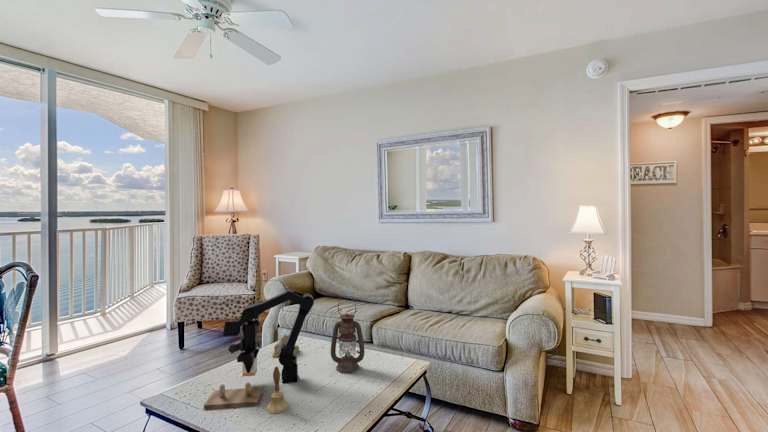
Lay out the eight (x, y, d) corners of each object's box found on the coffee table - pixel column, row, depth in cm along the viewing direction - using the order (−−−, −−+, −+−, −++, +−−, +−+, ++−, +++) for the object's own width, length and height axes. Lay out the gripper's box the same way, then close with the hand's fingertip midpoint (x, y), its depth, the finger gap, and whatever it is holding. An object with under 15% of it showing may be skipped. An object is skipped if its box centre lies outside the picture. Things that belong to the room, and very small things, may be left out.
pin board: (263, 390, 156) (263, 375, 156) (257, 405, 144) (257, 389, 144) (214, 393, 154) (214, 378, 154) (203, 409, 142) (203, 392, 142)
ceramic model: (283, 360, 189) (282, 340, 189) (267, 356, 194) (267, 337, 194) (302, 351, 201) (302, 333, 201) (287, 347, 206) (287, 329, 206)
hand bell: (282, 414, 138) (281, 372, 137) (261, 412, 139) (261, 370, 139) (292, 403, 146) (291, 363, 145) (272, 401, 147) (272, 361, 147)
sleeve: (257, 370, 165) (256, 357, 165) (254, 375, 160) (254, 362, 160) (245, 371, 164) (245, 358, 164) (242, 376, 159) (242, 362, 159)
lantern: (363, 373, 172) (363, 298, 172) (329, 373, 172) (328, 299, 172) (365, 363, 183) (364, 293, 183) (332, 364, 183) (331, 293, 183)
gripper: (236, 329, 170) (236, 362, 171) (223, 343, 152) (224, 380, 152) (261, 327, 172) (261, 361, 172) (251, 341, 153) (252, 379, 153)
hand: (249, 370), depth 162 cm, fingers closed on sleeve, 5 cm apart
